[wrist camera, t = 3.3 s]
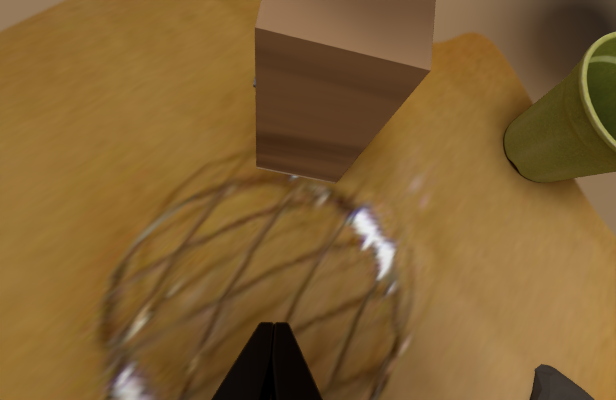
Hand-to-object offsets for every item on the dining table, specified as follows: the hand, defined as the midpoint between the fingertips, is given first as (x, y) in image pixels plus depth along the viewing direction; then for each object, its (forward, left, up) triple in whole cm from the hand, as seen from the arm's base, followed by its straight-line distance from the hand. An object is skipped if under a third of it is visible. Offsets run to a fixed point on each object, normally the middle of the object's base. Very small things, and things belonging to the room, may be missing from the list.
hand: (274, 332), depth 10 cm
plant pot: (-9, -24, -13) cm, 29 cm away
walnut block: (+6, -11, -13) cm, 18 cm away
